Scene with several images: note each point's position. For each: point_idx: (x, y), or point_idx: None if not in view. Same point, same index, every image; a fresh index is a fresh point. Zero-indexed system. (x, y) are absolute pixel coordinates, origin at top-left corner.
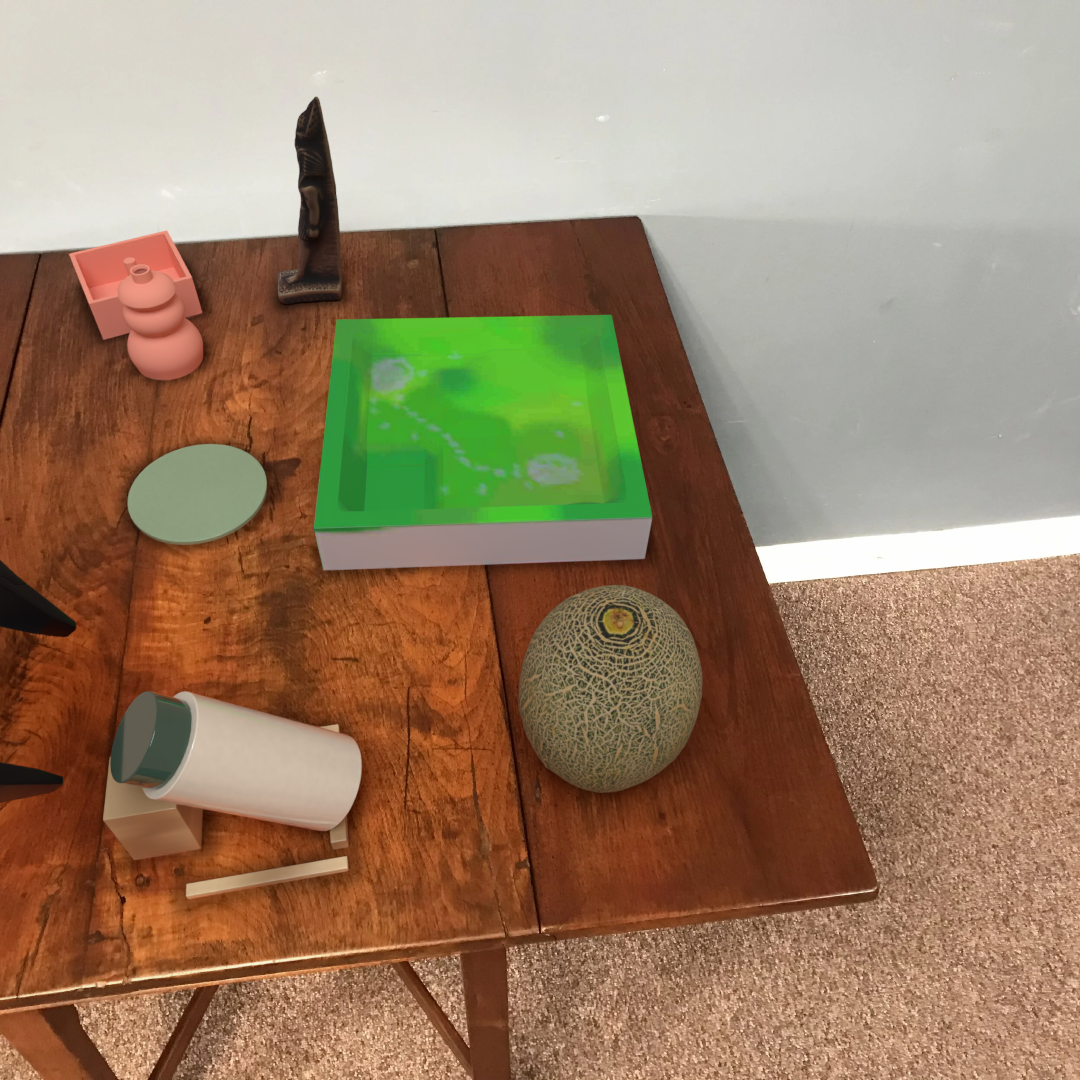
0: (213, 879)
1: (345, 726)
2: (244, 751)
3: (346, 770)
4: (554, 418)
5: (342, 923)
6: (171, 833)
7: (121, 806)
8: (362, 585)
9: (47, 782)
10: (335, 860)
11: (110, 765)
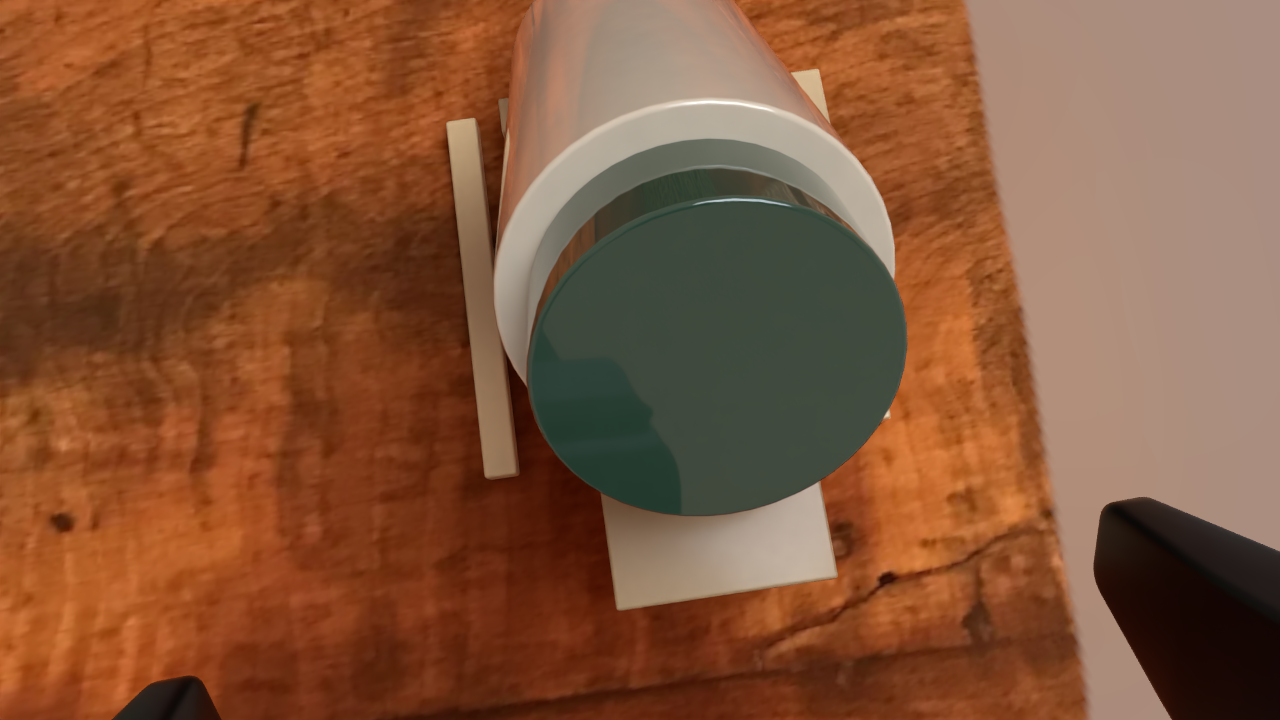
0: None
1: (446, 119)
2: (727, 44)
3: None
4: None
5: (928, 83)
6: None
7: (794, 527)
8: (9, 113)
9: (1224, 533)
10: None
11: (773, 500)
